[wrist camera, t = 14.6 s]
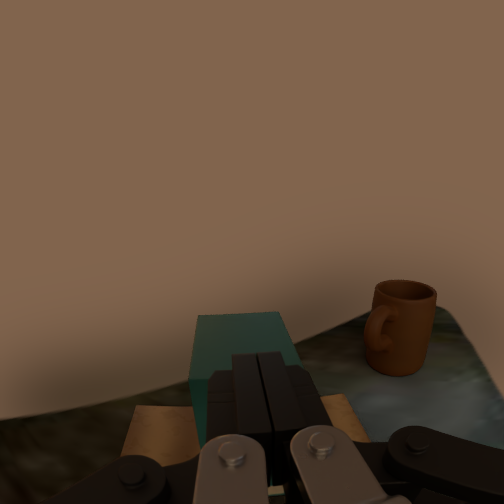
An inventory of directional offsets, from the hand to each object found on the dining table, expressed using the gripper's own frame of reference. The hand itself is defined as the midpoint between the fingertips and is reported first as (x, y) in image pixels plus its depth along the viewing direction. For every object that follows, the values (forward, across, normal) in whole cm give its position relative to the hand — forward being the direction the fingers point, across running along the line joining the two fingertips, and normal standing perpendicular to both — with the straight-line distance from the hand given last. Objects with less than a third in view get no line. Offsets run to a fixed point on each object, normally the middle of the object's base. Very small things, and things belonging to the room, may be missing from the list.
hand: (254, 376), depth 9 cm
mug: (+19, -17, +15) cm, 29 cm away
